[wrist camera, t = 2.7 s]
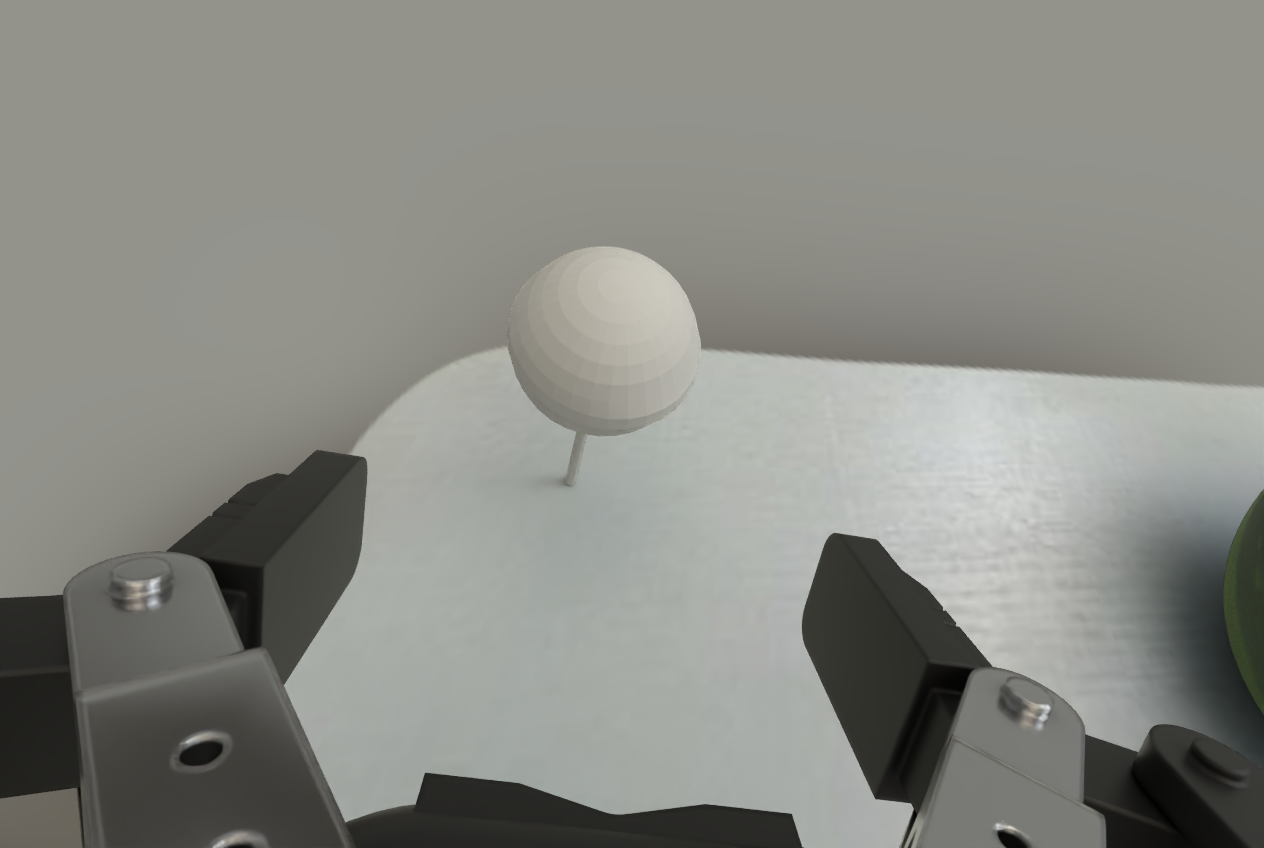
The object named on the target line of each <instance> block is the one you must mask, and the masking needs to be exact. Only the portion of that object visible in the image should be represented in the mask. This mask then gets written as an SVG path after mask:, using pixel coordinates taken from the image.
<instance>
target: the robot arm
mask: <svg viewBox="0 0 1264 848" xmlns="http://www.w3.org/2000/svg"><path fill="white" fill-rule="evenodd" d="M366 485H367V461H366V459H365V458H364V457H359V456H353V455H346V454H339V453H334V452H327V451H321V450H317V451H315V452H314V453H313V454H312V455H310V457H308V458H307V459H306V460H305V461H304V462H303V463H302V464H301V465H299V466H298V467H297V468H296V469H295V470H294V471H293V472H292V473H291V474H289V475H285V474H278V473H276V474H273V475H271V476H268V477H265V478H263V479H260V480H257V481H255V482H252V483H249V484H247V485H246V486H244V487H243V488H242V489H241V490H240V491H238V492H237V493H236V494H235V495H234V496H233V497H231V498H230V499H229V501H228V503H224V504H223V505H222V506H220V507H219V508H218V509H217V510H215V511H214V512H213V515H212V516H209V517H207V518H206V519H205V520H204V521H202V522H201V523H200V524H198V525H197V526H196V527H195V528H194V529H192V530H191V531H190V532H189V533H188V534H186V535H185V536H184V537H183V538H181V539H180V540H179V541H178V542H177V543H175V544H174V545H173V546H172V547H171V548H170V549H168V550H167V551H166V552H160V551H157V552H141V553H134V554H128V555H122V556H118V557H115V558H111V559H108V560H105V561H102V562H99V563H97V564H95V565H92V566H90V567H88V568H86V569H85V570H83V571H81V572H80V573H78V574H77V575H76V576H74V577H73V578H72V579H71V580H70V581H69V582H68V583H67V585H66V586H65V588H64V592H63V595H56V596H37V597H17V598H16V597H15V598H0V798H7V797H14V796H21V795H27V794H35V793H42V792H49V791H56V790H63V789H70V788H77V800H78V810H79V820H80V830H81V841H82V848H803V847H802V845H801V842H800V839H799V836H798V832H797V829H796V826H795V823H794V820H793V816H792V814H788V813H779V812H770V811H761V810H752V809H743V808H734V807H726V806H717V805H708V804H704V805H696V806H688V807H680V808H672V809H664V810H656V811H648V812H640V813H632V814H624V815H615V814H609V813H605V812H602V811H599V810H596V809H593V808H590V807H587V806H584V805H581V804H578V803H575V802H572V801H570V800H567V799H564V798H561V797H558V796H555V795H552V794H549V793H546V792H543V791H540V790H537V789H534V788H531V787H529V786H526V785H523V784H520V783H512V782H503V781H494V780H485V779H476V778H467V777H459V776H450V775H441V774H432V773H425V775H424V778H423V782H422V785H421V789H420V792H419V795H418V799H417V802H416V805H408V806H401V807H396V808H392V809H387V810H383V811H378V812H375V813H372V814H369V815H366V816H363V817H360V818H357V819H354V820H351V821H348V822H346V823H345V821H344V819H343V817H342V814H341V812H340V810H339V808H338V805H337V803H336V801H335V799H334V797H333V794H332V792H331V790H330V788H329V786H328V783H327V781H326V779H325V777H324V774H323V772H322V770H321V768H320V766H319V763H318V761H317V759H316V757H315V754H314V752H313V750H312V748H311V746H310V743H309V741H308V739H307V737H306V734H305V732H304V730H303V728H302V726H301V723H300V721H299V719H298V717H297V714H296V712H295V710H294V708H293V706H292V703H291V701H290V699H289V697H288V695H287V692H286V690H285V688H284V684H285V682H286V681H287V679H288V678H289V676H290V675H291V673H292V672H293V670H294V668H295V667H296V665H297V664H298V662H299V661H300V659H301V657H302V656H303V654H304V653H305V651H306V650H307V648H308V647H309V645H310V643H311V642H312V640H313V639H314V637H315V636H316V634H317V633H318V631H319V629H320V628H321V626H322V625H323V623H324V622H325V620H326V618H327V617H328V615H329V614H330V612H331V611H332V609H333V608H334V606H335V604H336V603H337V601H338V600H339V598H340V597H341V595H342V594H343V592H344V590H345V589H346V587H347V586H348V584H349V583H350V581H351V579H352V577H353V575H354V572H355V570H356V567H357V564H358V560H359V556H360V551H361V545H362V534H363V522H364V510H365V497H366ZM802 635H803V641H804V644H805V647H806V649H807V651H808V653H809V656H810V658H811V660H812V662H813V664H814V667H815V669H816V671H817V673H818V675H819V677H820V680H821V682H822V684H823V686H824V688H825V690H826V693H827V695H828V697H829V699H830V701H831V704H832V706H833V708H834V710H835V712H836V714H837V717H838V719H839V721H840V723H841V725H842V728H843V730H844V732H845V734H846V736H847V738H848V741H849V743H850V745H851V747H852V749H853V752H854V754H855V756H856V758H857V760H858V762H859V765H860V767H861V769H862V771H863V773H864V776H865V778H866V780H867V782H868V784H869V786H870V789H871V791H872V793H873V795H874V797H875V799H880V800H888V801H897V802H906V803H911V804H912V806H913V808H914V810H913V812H912V815H911V817H910V820H909V822H908V824H907V827H906V829H905V832H904V835H903V837H902V840H901V843H900V846H899V848H1264V771H1263V770H1262V769H1260V768H1259V767H1258V766H1257V765H1255V764H1254V763H1252V762H1251V761H1250V760H1248V759H1247V758H1245V757H1244V756H1242V755H1241V754H1239V753H1238V752H1236V751H1234V750H1233V749H1231V748H1229V747H1228V746H1226V745H1224V744H1222V743H1220V742H1218V741H1216V740H1214V739H1212V738H1210V737H1208V736H1206V735H1203V734H1201V733H1198V732H1196V731H1193V730H1190V729H1187V728H1183V727H1179V726H1175V725H1167V724H1162V725H1156V726H1154V727H1152V728H1151V729H1150V731H1149V733H1148V735H1147V737H1146V739H1145V741H1144V743H1143V744H1142V746H1141V748H1140V750H1139V752H1136V751H1133V750H1130V749H1127V748H1124V747H1121V746H1118V745H1115V744H1112V743H1109V742H1106V741H1103V740H1100V739H1097V738H1094V737H1091V736H1088V735H1085V726H1084V724H1083V721H1082V719H1081V718H1080V716H1079V715H1078V713H1077V712H1076V711H1075V710H1074V709H1073V708H1072V707H1071V706H1070V705H1069V704H1068V703H1067V702H1066V701H1065V700H1064V699H1062V698H1061V697H1060V696H1058V695H1057V694H1056V693H1054V692H1053V691H1051V690H1050V689H1048V688H1047V687H1045V686H1043V685H1042V684H1040V683H1038V682H1036V681H1034V680H1032V679H1030V678H1028V677H1026V676H1023V675H1021V674H1018V673H1015V672H1012V671H1009V670H1005V669H1001V668H995V667H992V665H991V664H990V663H989V662H988V661H987V659H986V658H985V657H984V656H983V655H982V653H981V652H980V651H979V650H978V649H977V647H976V646H975V645H974V644H973V643H972V641H971V640H970V639H969V638H968V637H967V635H966V634H965V633H964V632H963V631H962V629H961V628H960V627H956V622H955V621H954V620H953V619H952V618H951V616H950V615H949V614H948V613H947V612H946V611H943V607H942V606H941V604H940V603H939V602H938V601H937V600H936V598H935V597H934V596H933V595H932V594H931V592H930V591H929V590H928V589H927V588H926V587H924V586H923V585H922V584H920V583H919V582H918V581H916V580H915V579H913V578H912V577H911V576H909V575H908V574H907V573H905V572H904V571H902V570H901V568H900V567H899V566H898V565H897V563H896V562H895V561H894V560H893V559H892V557H891V556H890V555H889V554H888V552H887V551H886V550H885V549H884V547H883V546H882V545H881V544H880V542H878V541H877V540H876V539H870V538H864V537H858V536H851V535H845V534H839V533H833V534H831V535H830V536H829V537H828V539H827V540H826V543H825V545H824V548H823V551H822V554H821V557H820V560H819V563H818V567H817V570H816V573H815V576H814V579H813V582H812V586H811V589H810V592H809V595H808V598H807V602H806V605H805V608H804V612H803V619H802Z"/></svg>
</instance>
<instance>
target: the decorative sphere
mask: <svg viewBox="0 0 1264 848" xmlns="http://www.w3.org/2000/svg"><path fill="white" fill-rule="evenodd" d="M1223 603H1224V615H1225V623H1226V628H1227V633H1228V637H1229V641H1230V645H1231V648H1232V652H1233V655H1234V658H1235V660H1236V663H1237V666H1238V668H1239V671H1240V673H1241V675H1242V677H1243V680H1244V682H1245V684H1246V686H1247V688H1248V689H1249V691H1250V693H1251V695H1252V697H1253V699H1254V700H1255V702H1256V704H1257V705H1258V707H1259V708H1260V710H1261V711H1262V713H1263V715H1264V490H1263V491H1262V492H1261V493H1260V494H1259V496H1258V497H1257V498H1256V500H1255V501H1254V502H1253V504H1252V505H1251V507H1250V508H1249V510H1248V512H1247V513H1246V515H1245V517H1244V518H1243V520H1242V522H1241V524H1240V526H1239V528H1238V530H1237V533H1236V535H1235V538H1234V540H1233V543H1232V546H1231V549H1230V552H1229V556H1228V560H1227V565H1226V570H1225V577H1224V589H1223Z"/></svg>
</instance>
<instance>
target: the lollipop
mask: <svg viewBox="0 0 1264 848" xmlns="http://www.w3.org/2000/svg"><path fill="white" fill-rule="evenodd" d="M507 337H508V350H509V353H510V357H511V360H512V364H513V367H514V371H515V374H516V377H517V379H518V381H519V382H520V384H521V386H522V388H523V390H524V392H525V393H526V395H527V396H528V397H529V399H530V400H531V401H532V402H533V404H534V405H535V406H536V407H537V408H538V409H539V410H540V411H541V412H542V413H543V414H545V415H546V416H547V417H548V418H549V419H551V420H552V421H554V422H556V423H558V424H560V425H561V426H563V427H565V428H567V429H570V430H573V431H576V436H575V441H574V445H573V450H572V454H571V458H570V463H569V467H568V471H567V476H566V480H565V482H566V484H567V485H569V486H572V485H574V484H575V480H576V477H577V473H578V469H579V465H580V462H581V458H582V454H583V450H584V447H585V443H586V439H587V435H595V436H617V435H621V434H626V433H631V432H634V431H636V430H638V429H641V428H643V427H645V426H647V425H649V424H651V423H653V422H655V421H658V420H660V419H662V418H663V417H665V416H666V415H668V414H669V413H671V412H672V411H674V410H675V409H676V408H677V407H678V406H679V405H680V403H681V402H682V401H683V400H684V399H685V398H686V396H687V395H688V393H689V391H690V389H691V387H692V385H693V384H694V380H695V377H696V373H697V370H698V366H699V362H700V353H701V342H700V337H699V333H698V327H697V323H696V319H695V315H694V312H693V310H692V307H691V305H690V302H689V300H688V298H687V296H686V294H685V292H684V291H683V289H682V288H681V286H680V285H679V283H678V282H677V281H676V280H675V279H674V278H673V276H671V274H670V273H669V272H668V271H667V270H665V269H664V268H662V267H661V266H660V265H659V264H657V263H656V262H654V261H653V260H651V259H649V258H647V257H645V256H643V255H642V254H639V253H636V252H634V251H631V250H628V249H623V248H617V247H601V246H600V247H592V248H583V249H579V250H576V251H573V252H570V253H567V254H565V255H563V256H561V257H559V258H557V259H556V260H554V261H553V262H551V263H550V264H548V265H547V266H545V267H544V268H542V269H540V270H539V271H538V272H537V273H535V274H534V275H533V276H532V277H530V278H529V279H528V280H527V281H526V283H525V284H524V286H523V287H522V288H521V289H520V291H519V292H518V294H517V296H516V298H515V301H514V303H513V305H512V309H511V314H510V319H509V325H508V331H507Z"/></svg>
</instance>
